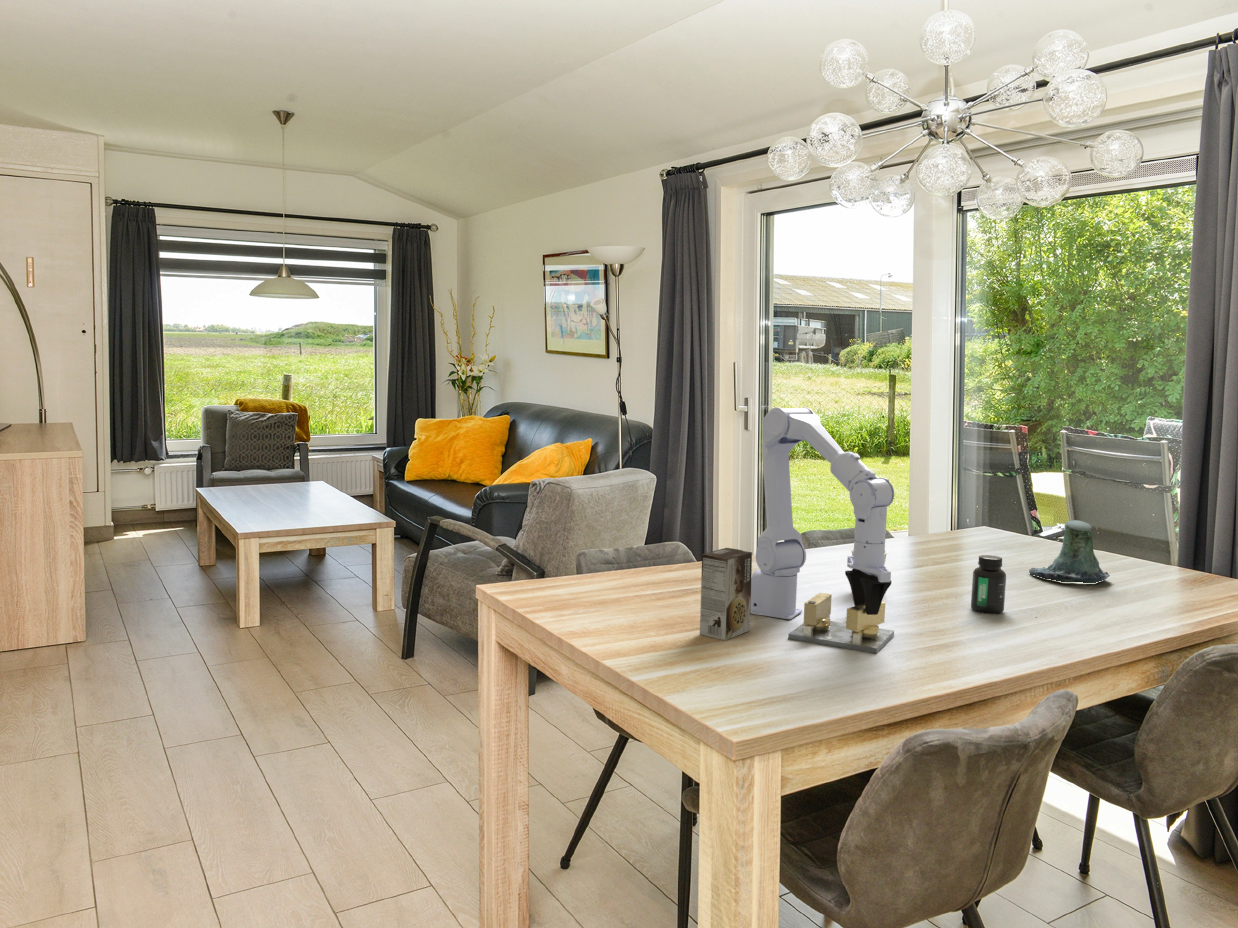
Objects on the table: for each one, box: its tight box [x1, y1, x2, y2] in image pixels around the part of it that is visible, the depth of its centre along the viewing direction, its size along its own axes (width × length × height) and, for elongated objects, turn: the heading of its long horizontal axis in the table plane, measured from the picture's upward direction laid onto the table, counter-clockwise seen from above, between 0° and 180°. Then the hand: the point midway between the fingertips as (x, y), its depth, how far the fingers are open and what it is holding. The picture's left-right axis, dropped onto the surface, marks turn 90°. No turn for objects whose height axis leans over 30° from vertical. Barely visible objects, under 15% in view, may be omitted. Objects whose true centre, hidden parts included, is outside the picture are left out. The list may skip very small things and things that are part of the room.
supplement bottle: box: [970, 554, 1007, 615], centre depth 205 cm, size 7×7×12 cm
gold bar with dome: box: [845, 601, 886, 638], centre depth 180 cm, size 10×5×6 cm, turn 135°
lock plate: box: [787, 592, 895, 654], centre depth 182 cm, size 17×14×7 cm
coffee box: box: [699, 547, 753, 641], centre depth 183 cm, size 9×6×16 cm
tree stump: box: [1028, 519, 1111, 583], centre depth 239 cm, size 18×20×18 cm
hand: (866, 610), depth 179 cm, fingers closed on gold bar with dome, 4 cm apart
